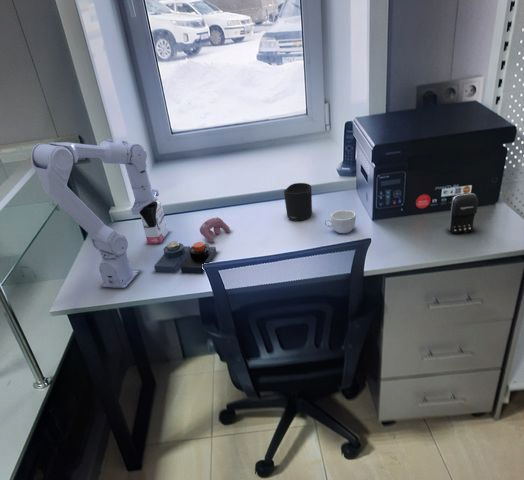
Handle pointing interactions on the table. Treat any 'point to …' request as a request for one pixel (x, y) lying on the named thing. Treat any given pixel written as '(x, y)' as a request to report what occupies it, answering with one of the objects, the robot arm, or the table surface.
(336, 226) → the teacup
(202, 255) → the right box
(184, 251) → the left box
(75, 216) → the robot arm
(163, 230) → the ink box
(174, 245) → the left button
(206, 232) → the pink curved piece
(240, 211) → the table surface
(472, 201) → the battery charger
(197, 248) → the right button
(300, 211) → the pen holder
